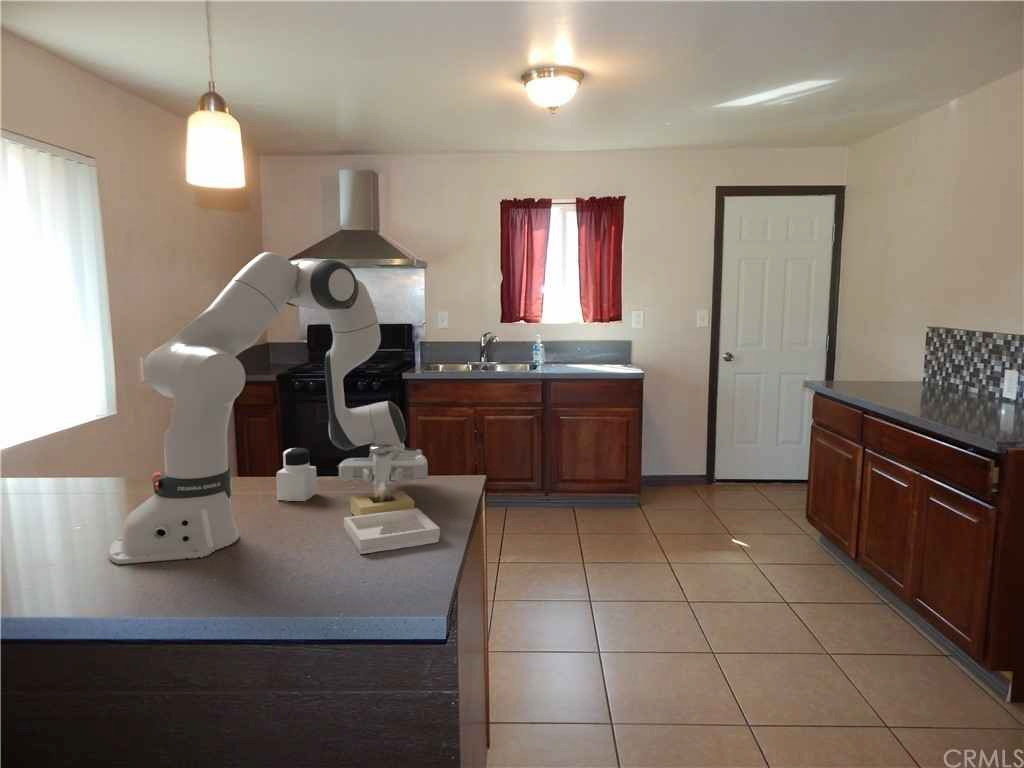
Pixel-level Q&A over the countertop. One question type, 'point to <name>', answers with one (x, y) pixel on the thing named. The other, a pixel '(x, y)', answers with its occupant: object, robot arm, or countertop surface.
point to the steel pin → (381, 472)
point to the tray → (368, 526)
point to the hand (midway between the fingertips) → (381, 477)
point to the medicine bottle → (296, 476)
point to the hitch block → (380, 504)
